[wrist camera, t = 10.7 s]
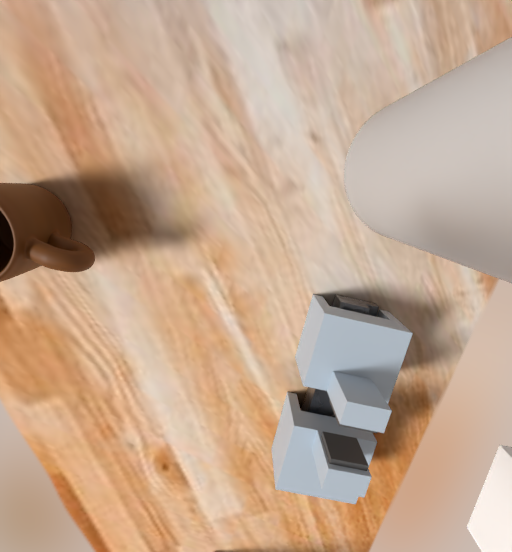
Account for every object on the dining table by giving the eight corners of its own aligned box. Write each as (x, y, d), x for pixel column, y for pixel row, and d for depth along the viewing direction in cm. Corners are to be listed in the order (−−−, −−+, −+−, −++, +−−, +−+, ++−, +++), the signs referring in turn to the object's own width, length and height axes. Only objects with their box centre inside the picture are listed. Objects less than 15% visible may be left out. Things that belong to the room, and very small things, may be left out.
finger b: (313, 294, 39) (338, 335, 29) (388, 311, 40) (440, 358, 29) (293, 361, 41) (310, 424, 30) (366, 377, 42) (408, 444, 31)
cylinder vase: (499, 178, 37) (979, 166, 13) (394, 264, 39) (644, 398, 15) (422, 69, 35) (830, -196, 11) (314, 166, 37) (452, 129, 12)
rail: (335, 294, 39) (341, 301, 37) (374, 303, 40) (383, 311, 37) (285, 463, 44) (288, 480, 41) (321, 469, 44) (326, 487, 41)
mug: (128, 210, 37) (90, 219, 28) (111, 285, 39) (69, 316, 29) (-1, 172, 36) (-85, 168, 27) (-13, 251, 38) (-96, 272, 28)
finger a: (288, 387, 42) (303, 458, 31) (360, 402, 42) (399, 476, 32) (271, 448, 43) (280, 534, 32) (341, 461, 44) (371, 551, 33)
